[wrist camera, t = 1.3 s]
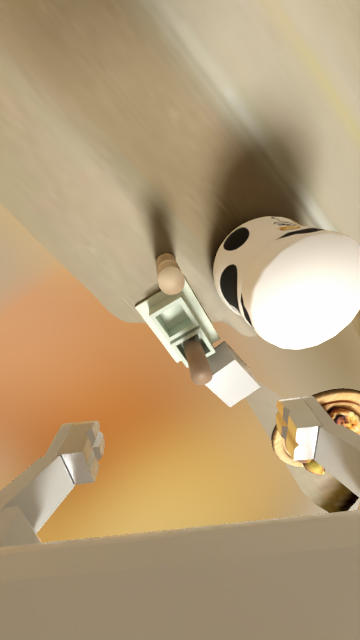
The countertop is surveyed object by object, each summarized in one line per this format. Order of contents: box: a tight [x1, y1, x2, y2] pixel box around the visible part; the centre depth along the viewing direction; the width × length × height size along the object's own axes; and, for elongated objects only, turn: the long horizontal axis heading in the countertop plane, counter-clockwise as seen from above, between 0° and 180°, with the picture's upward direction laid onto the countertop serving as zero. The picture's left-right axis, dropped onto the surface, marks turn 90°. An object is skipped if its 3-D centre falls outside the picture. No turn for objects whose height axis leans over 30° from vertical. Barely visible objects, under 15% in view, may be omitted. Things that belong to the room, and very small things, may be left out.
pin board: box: [135, 278, 220, 385], centre depth 42 cm, size 16×11×13 cm
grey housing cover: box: [205, 341, 260, 407], centre depth 51 cm, size 10×8×7 cm
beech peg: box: [156, 253, 185, 295], centre depth 37 cm, size 4×4×12 cm
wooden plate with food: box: [272, 388, 360, 475], centre depth 66 cm, size 32×32×8 cm
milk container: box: [213, 216, 360, 350], centre depth 36 cm, size 17×17×18 cm
